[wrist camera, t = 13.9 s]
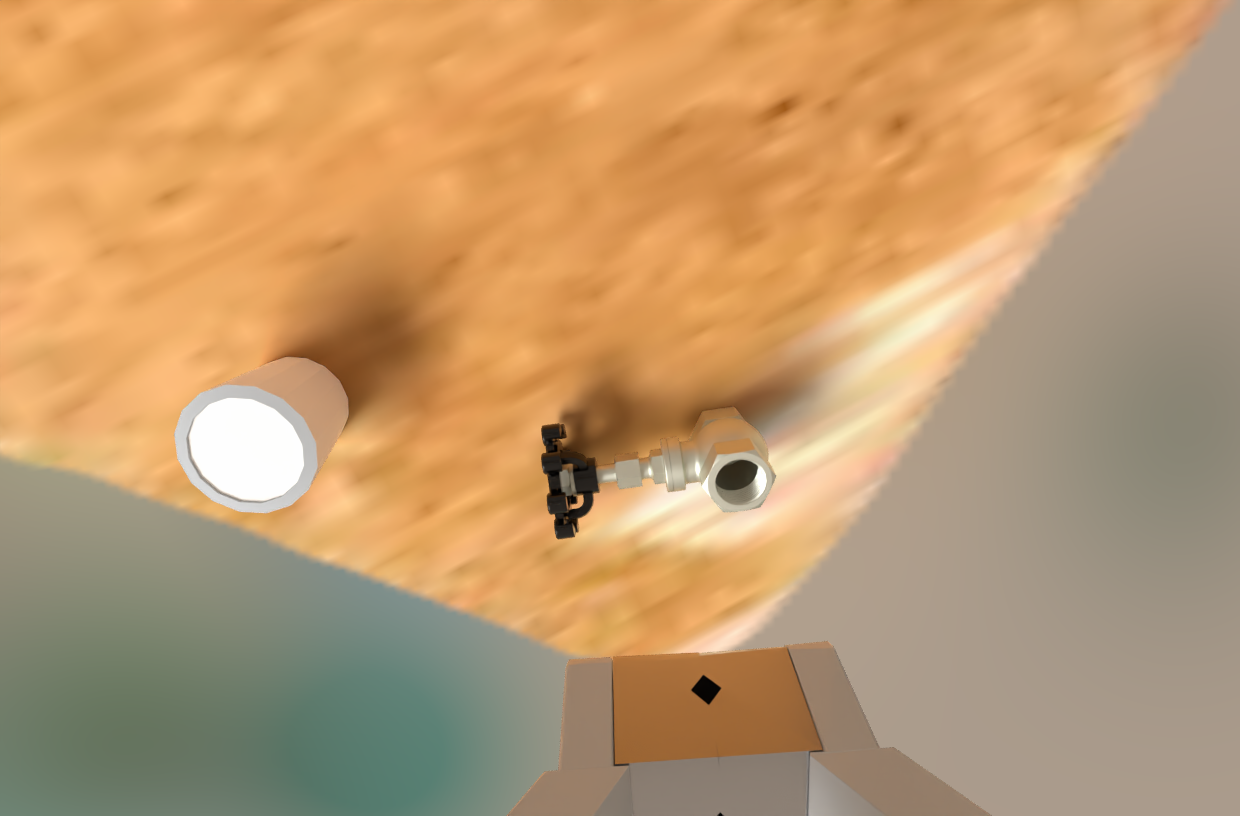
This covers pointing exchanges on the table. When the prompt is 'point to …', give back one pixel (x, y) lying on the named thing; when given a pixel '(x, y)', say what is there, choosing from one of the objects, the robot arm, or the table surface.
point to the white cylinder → (262, 434)
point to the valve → (664, 468)
